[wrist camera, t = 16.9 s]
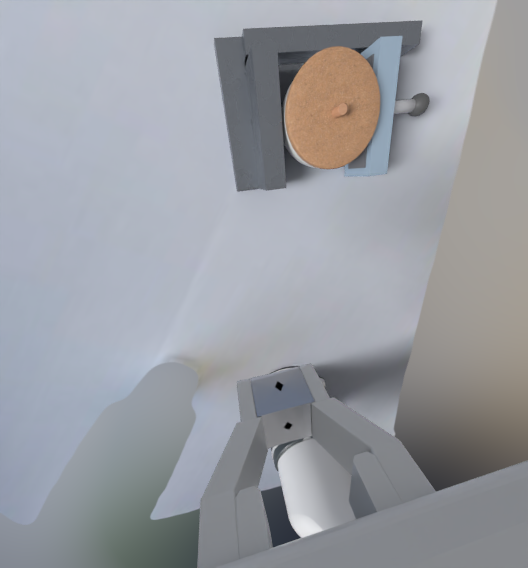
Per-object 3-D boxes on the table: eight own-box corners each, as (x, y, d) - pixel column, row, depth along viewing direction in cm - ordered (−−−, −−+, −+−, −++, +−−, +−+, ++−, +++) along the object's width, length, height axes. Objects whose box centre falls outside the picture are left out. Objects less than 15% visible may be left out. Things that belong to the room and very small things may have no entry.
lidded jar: (350, 154, 34) (395, 147, 25) (284, 182, 34) (307, 183, 25) (337, 63, 29) (386, 16, 20) (259, 94, 29) (277, 60, 20)
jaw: (401, 168, 36) (435, 167, 30) (343, 176, 35) (367, 176, 29) (416, 59, 30) (461, 32, 25) (347, 63, 29) (378, 36, 23)
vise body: (387, 170, 36) (421, 169, 30) (236, 190, 33) (241, 193, 27) (403, 35, 29) (450, -1, 23) (214, 45, 26) (214, 7, 20)
